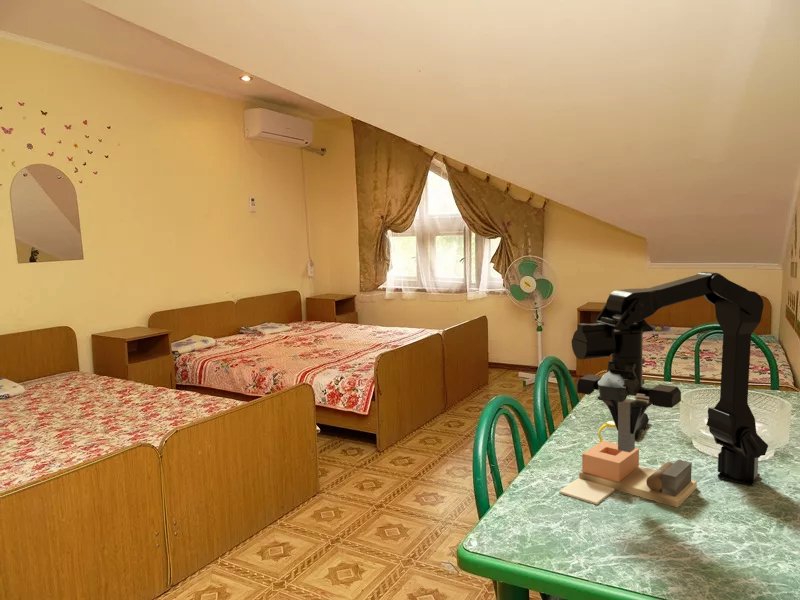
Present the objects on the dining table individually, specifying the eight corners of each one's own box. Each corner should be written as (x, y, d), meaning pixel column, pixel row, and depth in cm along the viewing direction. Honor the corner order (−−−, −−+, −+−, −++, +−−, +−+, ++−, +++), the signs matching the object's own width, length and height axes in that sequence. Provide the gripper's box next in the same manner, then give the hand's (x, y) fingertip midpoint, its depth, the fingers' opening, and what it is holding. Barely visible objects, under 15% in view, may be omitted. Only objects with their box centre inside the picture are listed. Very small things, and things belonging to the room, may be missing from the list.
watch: (623, 446, 143) (626, 422, 142) (624, 450, 140) (626, 426, 140) (598, 442, 145) (600, 419, 144) (597, 446, 142) (599, 422, 142)
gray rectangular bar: (634, 448, 116) (634, 400, 115) (629, 452, 114) (630, 403, 113) (622, 446, 118) (622, 398, 116) (617, 449, 116) (618, 401, 115)
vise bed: (696, 487, 119) (697, 461, 118) (677, 507, 111) (677, 479, 110) (602, 463, 132) (602, 439, 132) (579, 479, 125) (579, 454, 124)
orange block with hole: (638, 466, 126) (639, 448, 126) (619, 481, 119) (619, 463, 118) (603, 457, 132) (603, 440, 131) (582, 471, 124) (582, 453, 124)
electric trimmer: (652, 424, 158) (652, 413, 157) (637, 442, 145) (637, 429, 145) (637, 422, 160) (638, 411, 160) (622, 439, 147) (622, 427, 147)
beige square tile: (614, 490, 119) (614, 488, 119) (596, 504, 113) (596, 502, 113) (578, 479, 124) (578, 478, 124) (559, 492, 119) (559, 490, 118)
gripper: (562, 357, 114) (563, 434, 116) (661, 369, 102) (660, 455, 103) (588, 347, 122) (588, 419, 124) (682, 357, 110) (681, 437, 112)
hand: (626, 432), depth 116 cm, fingers closed on gray rectangular bar, 2 cm apart
